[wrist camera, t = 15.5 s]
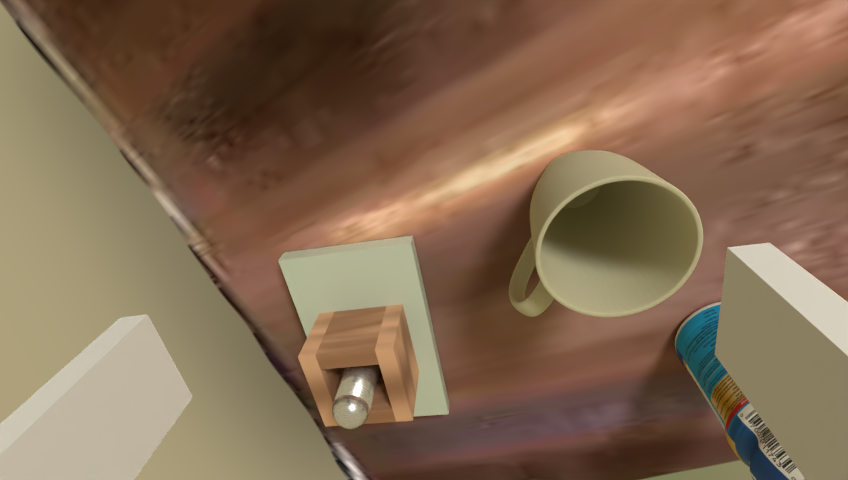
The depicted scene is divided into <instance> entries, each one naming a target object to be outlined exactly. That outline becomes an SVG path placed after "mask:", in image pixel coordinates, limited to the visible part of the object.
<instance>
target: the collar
mask: <svg viewBox="0 0 848 480" xmlns="http://www.w3.org/2000/svg"><path fill="white" fill-rule="evenodd" d="M298 359H299V361H300V364H301V366H302V369H303V371H304V374H305V376H306V379H307V381H308V384H309V387H310V389H311V392H312V394H313V397H314V399H315V402H316V404H317V407H318V409H319V412H320V414H321V417H322V419H323V422H324V425H325V427H327V426H340V425H338V424H337V423H336V421H335V419H334V417H333V414H332V406H333V403H334V400H335V397H336V394H337V391H338V388H339V385H340V382H341V379H342V376H343V373H344V370H345V367H356V366H367V365H378V364H379V366H380V372H379V376H378V380H377V384H376V388H375V392H374V397H373V401H372V405H371V409H370V413H369V416H368V418H367V420H366V421H365V423H363V424H371V423H385V422H400V421H413V417H414V409H415V401H416V393H417V386H418V378H419V368H418V364H417V360H416V356H415V352H414V348H413V344H412V340H411V336H410V332H409V328H408V324H407V320H406V316H405V312H404V308H403V304H400V305H391V306H382V307H373V308H364V309H354V310H345V311H336V312H327V313H319V315H318V317H317V319H316V321H315V323H314V325H313V327H312V329H311V331H310V333H309V335H308V337H307V340H306V342H305V344H304V346H303V348H302V350H301V352H300V354H299V356H298Z"/></svg>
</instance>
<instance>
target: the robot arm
mask: <svg viewBox="0 0 848 480" xmlns="http://www.w3.org/2000/svg"><path fill="white" fill-rule="evenodd" d="M715 356H716V357H717V358H718V360H719V361H720V362H721V364H722V365H723V367H724V368H725V369H726V371H727V372H728V373H729V375H730V376H731V378H732V379H733V380H734V382H735V383H736V384H737V386H738V387H739V389H740V390H741V391H742V393H743V394H744V395H745V397H746V398H747V400H748V401H749V402H750V404H751V405H752V406H753V408H754V409H755V411H756V412H757V413H758V415H759V416H760V418H761V419H762V420H763V422H764V423H765V424H766V426H767V427H768V429H769V430H770V431H771V433H772V434H773V435H774V437H775V438H776V440H777V441H778V442H779V444H780V445H781V446H782V448H783V449H784V451H785V452H786V453H787V455H788V456H789V457H790V459H791V460H792V462H793V463H794V464H795V466H796V467H797V468H798V470H799V471H800V473H801V474H802V475H803V477H804V478H805V479H806V480H848V302H847V301H845V300H844V299H843V298H841V297H840V296H839V295H838V294H836V293H835V292H834V291H832V290H831V289H830V288H828V287H827V286H826V285H824V284H823V283H822V282H820V281H819V280H818V279H816V278H815V277H814V276H813V275H811V274H810V273H809V272H807V271H806V270H805V269H803V268H802V267H801V266H799V265H798V264H797V263H795V262H794V261H793V260H791V259H790V258H789V257H788V256H786V255H785V254H784V253H782V252H781V251H780V250H778V249H777V248H776V247H774V246H773V245H772V244H770V243H763V244H754V245H746V246H737V247H728V248H727V256H726V264H725V272H724V280H723V289H722V297H721V305H720V313H719V322H718V330H717V338H716V346H715ZM192 397H193V396H192V395H191V393H190V391H189V389H188V387H187V386H186V384H185V382H184V380H183V378H182V376H181V374H180V373H179V371H178V369H177V367H176V366H175V364H174V362H173V360H172V358H171V356H170V355H169V353H168V351H167V349H166V347H165V345H164V344H163V342H162V340H161V338H160V336H159V334H158V333H157V331H156V329H155V327H154V325H153V323H152V322H151V320H150V318H149V316H148V315H138V316H130V317H121V318H119V319H118V320H117V321H116V322H115V323H113V324H112V325H111V326H110V327H109V328H108V329H107V330H106V331H104V332H103V333H102V334H101V335H100V336H99V337H98V338H97V339H95V340H94V341H93V342H92V343H91V344H90V345H89V346H87V348H85V349H84V350H83V351H82V352H81V353H80V354H78V355H77V356H76V357H75V358H74V359H73V360H72V361H71V362H69V363H68V364H67V365H66V366H65V367H64V368H63V369H62V370H60V371H59V372H58V373H57V374H56V375H55V376H54V377H53V378H51V379H50V380H49V381H48V382H47V383H46V384H45V385H43V386H42V387H41V388H40V389H39V390H38V391H37V392H36V393H34V394H33V395H32V396H31V397H30V398H29V399H28V400H27V401H26V402H24V403H23V404H22V405H21V406H20V407H19V408H17V409H16V410H15V411H14V412H13V413H12V414H11V415H10V416H8V417H7V418H6V419H5V420H4V421H3V422H2V423H1V424H0V480H134V479H135V478H136V477H137V475H138V474H139V472H140V471H141V470H142V468H143V467H144V465H145V464H146V462H147V461H148V460H149V458H150V457H151V455H152V454H153V453H154V451H155V450H156V448H157V447H158V445H159V444H160V442H161V441H162V440H163V438H164V437H165V436H166V434H167V433H168V431H169V430H170V428H171V427H172V426H173V424H174V423H175V421H176V420H177V419H178V417H179V416H180V414H181V413H182V412H183V410H184V409H185V407H186V406H187V404H188V403H189V402H190V400H191V399H192Z"/></svg>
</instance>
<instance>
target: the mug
mask: <svg viewBox="0 0 848 480" xmlns="http://www.w3.org/2000/svg"><path fill="white" fill-rule="evenodd" d="M530 227H531V235H532V236H531V238H530V240H529V242H528V244H527V245H526V247H525V249H524V251H523V253H522V255H521V257H520V259H519V261H518V263H517V265H516V267H515V270H514V272H513V274H512V277H511V281H510V285H509V297H510V301H511V303H512V305H513V306H514V307H515V309H517V310H518V311H519V312H521V313H522V314H524V315H526V316H530V317H535V316H537V315H539V314H541V313H542V312H543V311H544V310H546V309H547V308H548V306H549V305H550V304H551V303H552V302H553V300H554V299H555V300H557V301H558V302H559V303H561V304H562V305H563V306H565V307H567V308H569V309H571V310H573V311H576V312H578V313H581V314H585V315H589V316H596V317H620V316H626V315H631V314H635V313H638V312H641V311H644V310H646V309H649V308H651V307H653V306H655V305H657V304H659V303H661V302H662V301H664V300H665V299H667V298H668V297H669V296H671V295H672V294H673V293H675V292H676V291H677V290H678V289H679V288H680V287H681V286H682V285H683V284H684V283H685V281H686V280H687V279H688V278H689V276H690V275H691V273H692V272H693V270H694V268H695V266H696V264H697V262H698V260H699V257H700V254H701V250H702V244H703V228H702V223H701V220H700V217H699V214H698V212H697V210H696V208H695V207H694V205H693V204H692V202H691V201H690V200H689V199H688V197H687V196H686V195H685V194H683V193H682V192H681V191H680V190H679V189H677V188H676V187H674V186H673V185H671V184H669V183H668V182H666V181H665V180H663V179H662V178H660V177H658V176H657V175H655V174H654V173H652V172H651V171H649V170H647V169H646V168H644V167H643V166H641V165H639V164H638V163H636V162H634V161H632V160H630V159H628V158H626V157H624V156H621V155H618V154H615V153H612V152H608V151H600V150H584V151H572V152H567V153H564V154H562V155H560V156H558V157H556V158H555V159H554V160H552V161H551V162H550V163H549V165H548V166H547V167H546V169H545V170H544V172H543V174H542V176H541V177H540V179H539V181H538V183H537V185H536V187H535V190H534V192H533V196H532V200H531V205H530ZM535 265H536V269H537V272H538V275H539V278H540V281H539V283H538V285H537V286H536V288H535V289H534V291H533V292H532V293H531V295H530V296H529V297H528V298H527V299H525V290H526V286H527V283H528V280H529V278H530V276H531V273H532V271H533V269H534V267H535Z"/></svg>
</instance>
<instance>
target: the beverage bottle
mask: <svg viewBox="0 0 848 480" xmlns="http://www.w3.org/2000/svg"><path fill="white" fill-rule="evenodd" d="M720 305H721V302H717V303H713V304H710V305H707V306H705V307H703V308H701V309H699V310H697V311H695V312H694V313H693V314H691V315H690V316H689V317H688V318H687V319H686V320H685V321H684V322H683V323H682V324H681V326H680V327H679V329H678V331H677V334H676V337H675V350H676V353H677V356H678V358H679V359H680V361H681V362H682V364H683V365H684V367H685V368H686V369H687V370H688V372H689V373H690V374H691V376H692V378H693V379H694V381H695V382H696V384H697V385H698V387H699V389H700V390H701V392H702V394H703V395H704V397H705V398H706V400H707V402H708V403H709V405H710V407H711V408H712V410H713V412H714V413H715V415H716V417H717V418H718V420H719V422H720V423H721V425H722V426H723V428H724V430H725V434H726V438H727V441H728V443H729V445H730V446H731V448H732V449H733V451H734V452H735V454H736V455H737V456H738V457H739V459H740V460H741V461H742V462H744V463H745V464H746V465H747V466H749V467H750V472H751V476H752V478H753V480H806V479H805V478H804V477H803V475H802V474H801V473H800V471H799V470H798V468H797V467H796V466H795V464H794V463H793V462H792V460H791V459H790V457H789V456H788V455H787V453H786V452H785V451H784V449H783V448H782V446H781V445H780V444H779V442H778V441H777V440H776V438H775V437H774V435H773V434H772V433H771V431H770V430H769V429H768V427H767V426H766V424H765V423H764V422H763V420H762V419H761V418H760V416H759V415H758V413H757V412H756V411H755V409H754V408H753V406H752V405H751V404H750V402H749V401H748V400H747V398H746V397H745V395H744V394H743V393H742V391H741V390H740V389H739V387H738V386H737V384H736V383H735V382H734V380H733V379H732V378H731V376H730V375H729V373H728V372H727V371H726V369H725V368H724V367H723V365H722V364H721V362H720V361H719V360H718V358H717V357H716V356H715V346H716V338H717V330H718V322H719V313H720Z"/></svg>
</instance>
